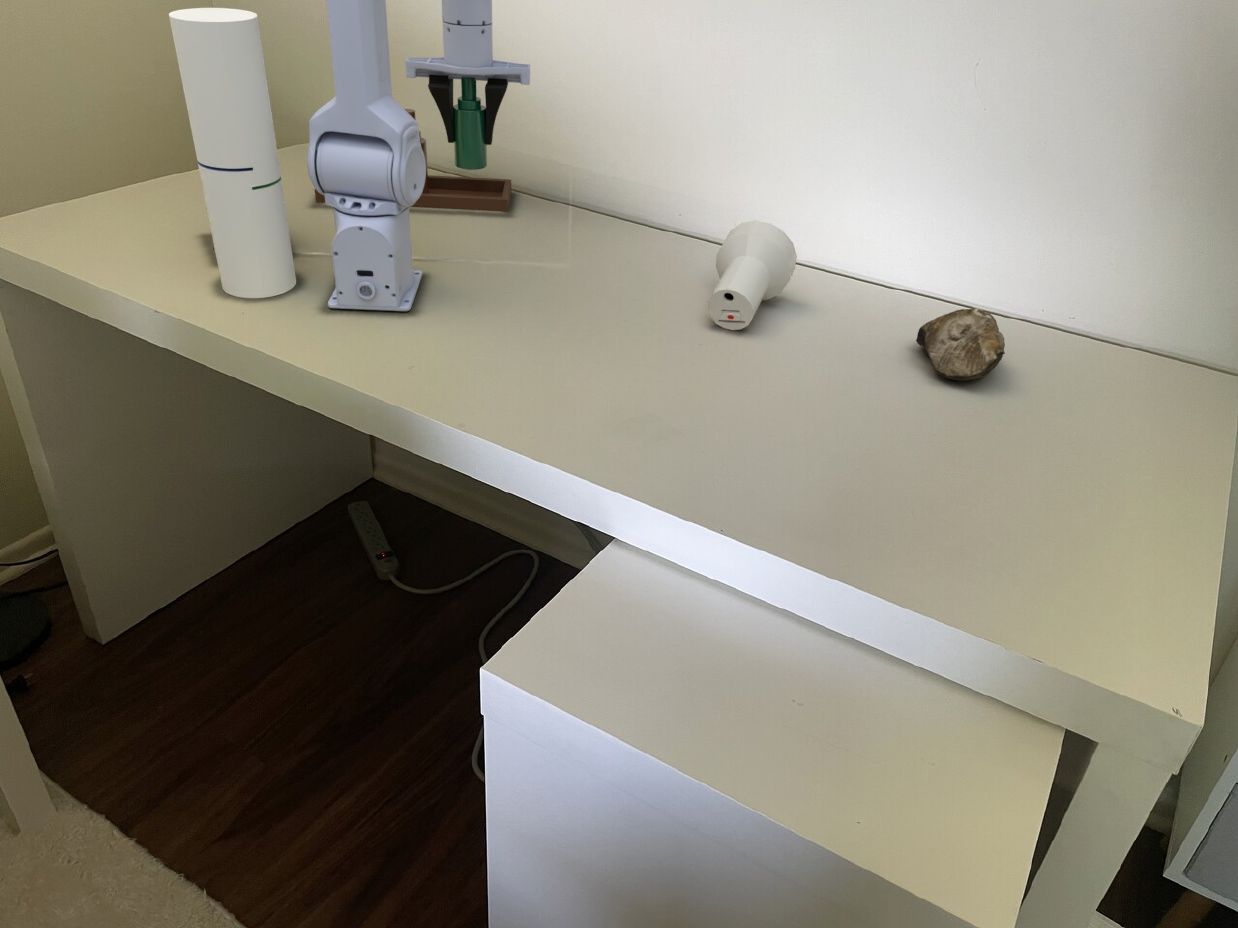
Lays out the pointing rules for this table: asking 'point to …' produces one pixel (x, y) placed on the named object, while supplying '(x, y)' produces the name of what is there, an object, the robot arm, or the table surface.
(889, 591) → the table surface
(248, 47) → the cylindrical container
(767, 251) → the spotlight
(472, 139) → the green bottle
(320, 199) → the tray
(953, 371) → the fossilized seashell
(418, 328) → the table surface
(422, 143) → the brown bottle
